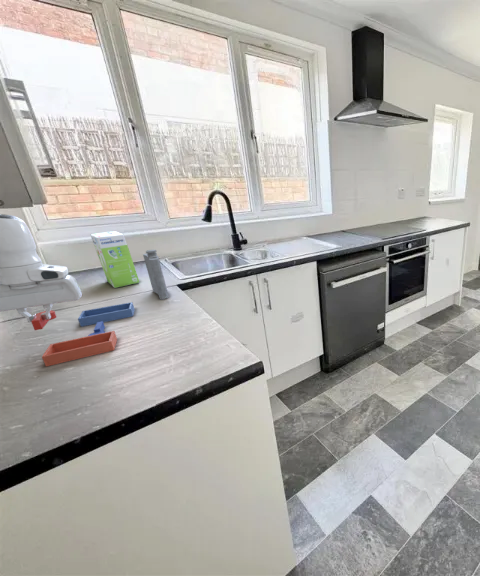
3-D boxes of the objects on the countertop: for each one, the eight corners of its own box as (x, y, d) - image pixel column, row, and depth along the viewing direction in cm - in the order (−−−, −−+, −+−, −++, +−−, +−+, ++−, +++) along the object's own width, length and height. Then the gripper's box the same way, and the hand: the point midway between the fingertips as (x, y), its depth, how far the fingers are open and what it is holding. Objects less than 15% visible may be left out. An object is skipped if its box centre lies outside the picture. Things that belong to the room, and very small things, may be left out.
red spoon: (48, 328, 88) (45, 319, 87) (28, 331, 86) (24, 322, 85) (58, 315, 96) (55, 306, 95) (39, 318, 94) (36, 309, 93)
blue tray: (81, 328, 105) (77, 318, 104) (85, 319, 111) (82, 310, 110) (133, 317, 113) (130, 308, 111) (134, 310, 119) (132, 302, 118)
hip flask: (152, 292, 139) (140, 248, 132) (163, 289, 141) (152, 246, 135) (160, 301, 128) (148, 254, 121) (172, 298, 131) (160, 252, 124)
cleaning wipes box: (105, 281, 154) (89, 233, 146) (131, 276, 162) (117, 230, 154) (113, 289, 143) (96, 237, 135) (140, 283, 151) (125, 234, 143)
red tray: (46, 368, 83) (41, 356, 81) (54, 354, 89) (50, 344, 88) (114, 351, 90) (111, 341, 89) (117, 340, 96) (114, 330, 95)
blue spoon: (94, 330, 103) (91, 323, 102) (110, 327, 105) (107, 320, 104) (89, 343, 95) (85, 335, 94) (105, 340, 97) (103, 332, 96)
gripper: (-44, 283, 76) (-20, 333, 81) (70, 271, 87) (85, 315, 92) (-32, 277, 81) (-10, 325, 86) (74, 266, 92) (88, 309, 97)
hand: (40, 320), depth 89 cm, fingers closed on red spoon
